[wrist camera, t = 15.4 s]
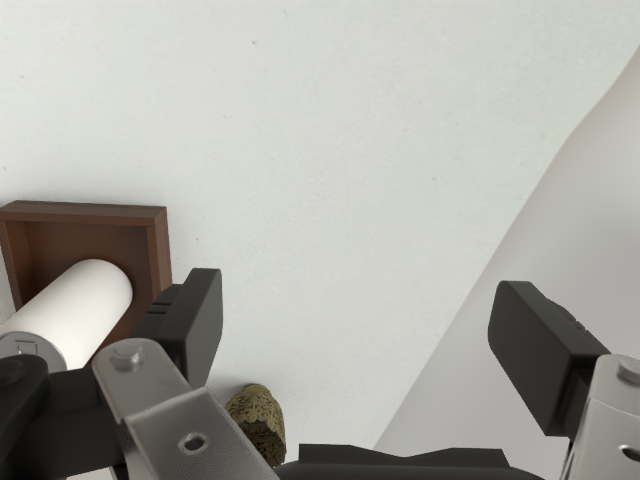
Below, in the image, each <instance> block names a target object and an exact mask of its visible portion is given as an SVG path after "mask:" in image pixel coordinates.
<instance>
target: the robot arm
mask: <svg viewBox="0 0 640 480" xmlns="http://www.w3.org/2000/svg"><path fill="white" fill-rule="evenodd" d="M222 328H223V302H222V276H221V270H220V269H210V268H193V269H192V270H191V272H190V274H189V275H188V277H187V279H186V280H185V282H184V284H172V285H171V286H169V287H167V288H166V289H164V290H163V291H161V292H160V293H159V294H158V295H157V297H156V298H155V300H154V301H153V303H152V305H151V306H150V307H149V309H148V310H147V312H146V314H145V315H144V316H143V317H142V319H141V320H140V322H139V323H138V325H137V326H136V328H135V329H134V331H133V332H132V334H131V335H130V337H129V338H128V339H125V340H121V341H118V342H115V343H112V344H110V345H108V346H106V347H105V348H103V349H102V350H100V351H99V352H98V353H97V354H96V355H95V357H94V358H93V361H92V365H91V366H88V367H84V368H79V369H73V370H67V371H61V372H55V373H49V369H48V365H47V362H46V361H45V359H43V358H42V357H39V356H37V355H29V354H22V355H13V356H8V357H4V358H1V359H0V480H66V479H67V477H70V476H73V475H78V474H82V473H86V472H90V471H94V470H98V469H103V468H107V467H109V469H110V472H111V475H112V477H113V480H545V479H543V478H541V477H539V476H536V475H534V474H531V473H529V472H526V471H524V470H521V469H517V468H514V467H510V465H509V463H508V461H507V459H506V457H505V455H504V453H503V451H502V449H483V448H481V449H480V448H449V449H444V450H439V451H434V452H430V453H425V454H420V455H415V456H410V457H398V456H394V455H389V454H385V453H381V452H377V451H373V450H369V449H364V448H360V447H356V446H352V445H331V444H299V460H298V461H293V462H289V463H286V464H283V465H280V466H277V467H275V468H272V469H271V467H270V466H269V465H268V463H267V462H266V461H265V460H264V458H263V457H262V456H261V454H260V453H259V452H258V451H257V449H256V448H255V447H254V445H253V444H252V443H251V442H250V440H249V439H248V438H247V436H246V435H245V434H244V433H243V431H242V430H241V429H240V427H239V426H238V425H237V424H236V422H235V421H234V420H233V418H232V417H231V416H230V414H229V413H228V412H227V411H226V409H225V408H224V407H223V405H222V404H221V403H220V402H219V400H218V399H217V398H216V396H215V395H214V394H213V393H212V391H211V390H210V389H209V388H208V387H207V386H205V384H206V381H207V378H208V375H209V372H210V369H211V366H212V363H213V360H214V357H215V354H216V351H217V348H218V345H219V342H220V339H221V335H222ZM488 342H489V345H490V348H491V350H492V352H493V353H494V355H495V356H496V358H497V359H498V361H499V363H500V364H501V366H502V367H503V369H504V371H505V372H506V374H507V375H508V377H509V379H510V380H511V382H512V383H513V385H514V387H515V388H516V390H517V391H518V393H519V394H520V396H521V397H522V399H523V401H524V402H525V404H526V406H527V407H528V409H529V410H530V412H531V413H532V415H533V417H534V418H535V420H536V421H537V423H538V425H539V426H540V428H541V429H542V431H543V433H544V434H545V436H560V437H568V438H569V439H570V442H569V445H568V448H567V451H566V454H565V458H564V461H563V466H562V469H561V474H560V476H559V480H640V360H638V359H635V358H632V357H628V356H624V355H618V354H612V353H611V352H610V351H609V350H608V349H607V348H606V347H604V346H603V345H602V344H601V343H600V342H599V341H598V340H597V339H596V338H595V337H594V336H593V335H592V334H591V333H590V332H589V331H588V330H585V327H584V326H583V325H582V324H580V322H578V321H576V319H575V318H574V317H573V316H572V315H571V314H570V313H569V312H568V311H567V310H566V309H565V308H563V307H562V306H560V305H558V304H556V303H554V302H553V301H551V300H549V299H547V298H546V297H545V296H544V295H543V294H542V293H541V292H540V291H539V290H538V289H537V288H536V287H535V286H534V285H533V284H532V283H531V282H528V281H501V282H500V283H499V285H498V287H497V290H496V294H495V299H494V303H493V308H492V312H491V317H490V322H489V326H488Z"/></svg>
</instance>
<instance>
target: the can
mask: <svg viewBox="0 0 640 480" xmlns="http://www.w3.org/2000/svg"><path fill="white" fill-rule="evenodd" d="M132 296H133V291H132V286H131V283H130V281H129V279H128V278H127V276H126V275H125V274H124V272H123V271H122V270H120V269H119V268H118V267H116V266H115V265H113V264H111V263H109V262H107V261H103V260H98V259H87V260H83V261H80V262H78V263H76V264H75V265H73V266H72V267H70V268H69V269H68V270H67V271H65V272H64V273H63V274H62V275H61V276H59V277H58V278H57V279H56V280H55V281H53V282H52V283H51V284H50V285H49V286H47V287H46V288H45V289H44V290H42V291H41V292H40V293H39V294H38V295H37V296H35V297H34V298H33V299H32V300H31V301H29V302H28V303H27V304H26V305H25V306H23V307H22V308H21V309H20V310H19V311H17V312H16V313H15V314H14V315H13V316H12V317H10V318H9V319H8V320H7V321H6V322H5V323H4V324H3V325H2V326H1V327H0V359H1V358H4V357H8V356H13V355H22V354H29V355H37V356H39V357H42V358H43V359H45V361H46V362H47V365H48V369H49V373H55V372H61V371H67V370H73V369H79V368H83V366H84V365H85V364H86V363H87V361H88V360H89V359H90V357H91V356H92V355H93V354H94V352H95V351H96V350H97V348H98V347H99V346H100V344H101V343H102V342H103V340H104V339H105V338H106V337H107V335H108V334H109V333H110V331H111V330H112V329H113V327H114V326H115V325H116V323H117V322H118V321H119V319H120V318H121V317H122V315H123V314H124V313H125V311H126V310H127V308H128V307H129V305H130V303H131V301H132Z"/></svg>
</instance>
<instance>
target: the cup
mask: <svg viewBox="0 0 640 480" xmlns="http://www.w3.org/2000/svg"><path fill="white" fill-rule="evenodd" d="M224 408H225V409H226V411H227V412H228V413H229V414H230V416H231V417H232V418H233V420H234V421H235V422H236V424H237V425H238V426H239V427H240V429H241V430H242V431H243V433H244V434H245V435H246V436H247V438H248V439H249V440H250V442H251V443H252V444H253V445H254V447H255V448H256V449H257V451H258V452H259V453H260V454H261V456H262V457H263V458H264V460H265V461H266V462H267V463H268V465H269V466H270V467H271V469H272V468H273V467H277V466H280V465H281V463H284V461H285V454H286V452H287V451H286V442H285V428H284V419H283V414H282V410H281V408H280V406H279V404H278V402H277V401H276V400H275V399H274V398H273V397H272V395H271V393H270V391H269V390H268V389H267V388H266V387H264V386H262V385H258V384H254V385H250V386H247V387H246V388H245V389H244V390H243V391H242V392H240V393H238V394H237V395H235V396H234V397H232V398H231V399H230V400H229V401H228V403H227V404H226V405H225V407H224Z"/></svg>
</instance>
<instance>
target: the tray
mask: <svg viewBox="0 0 640 480" xmlns="http://www.w3.org/2000/svg"><path fill="white" fill-rule="evenodd" d="M0 245H1V249H2V254H3V258H4V262H5V267H6V271H7V275H8V279H9V284H10V288H11V292H12V297H13V301H14V305H15V310H16V312H17V311H19V310H20V309H21V308H22V307H23V306H25V305H26V304H27V303H28V302H29V301H31V300H32V299H33V298H34V297H35V296H37V295H38V294H39V293H40V292H41V291H42V290H44V289H45V288H46V287H47V286H49V285H50V284H51V283H52V282H53V281H55V280H56V279H57V278H58V277H59V276H61V275H62V274H63V273H64V272H65V271H67V270H68V269H69V268H70V267H72V266H73V265H75V264H76V263H78V262H80V261H83V260H87V259H98V260H103V261H107V262H109V263H111V264H113V265H115V266H116V267H118V268H119V269H120V270H122V271H123V272H124V274H125V275H126V276H127V278H128V279H129V281H130V283H131V286H132V291H133V296H132V301H131V303H130V305H129V307H128V308H127V310H126V311H125V313H124V314H123V315H122V317H121V318H120V319H119V321H118V322H117V323H116V325H115V326H114V327H113V329H112V330H111V331H110V333H109V334H108V335H107V337H106V338H105V339H104V340H103V342H102V343H101V344H100V346H99V347H98V348H97V350H96V351H95V352H94V354H93V355H92V356H91V357H90V359H89V360H88V361H87V363H86V364H85V365H84V366H83V368H84V367H88V366H91V365H92V361H93V358H94V357H95V355H96V354H97V353H98V352H99V351H100V350H102V349H103V348H105V347H106V346H108V345H110V344H112V343H115V342H118V341H121V340H125V339H128V338H129V337H130V335H131V334H132V332H133V331H134V329H135V328H136V326H137V325H138V323H139V322H140V320H141V319H142V317H143V316H144V315H145V314H146V312H147V310H148V309H149V307H150V306H151V305H152V303H153V301H154V300H155V298H156V297H157V295H158V294H159V293H160V292H161V291H163V290H164V289H166V288H167V287H169V286H171V285H172V273H171V261H170V249H169V236H168V224H167V212H166V207H158V206H135V205H112V204H89V203H66V202H43V201H20V200H16V201H14V202H12V203H10V204H7V205H5V206H3V207H1V208H0Z"/></svg>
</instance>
